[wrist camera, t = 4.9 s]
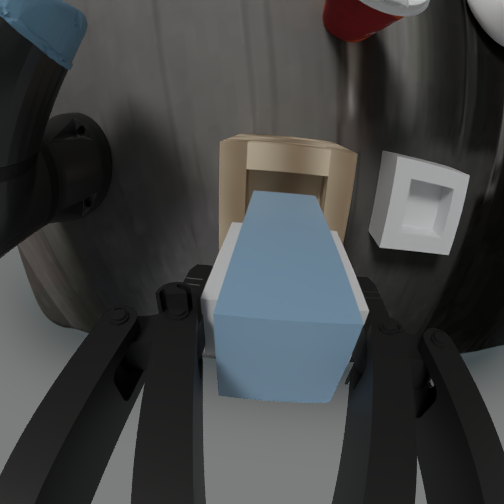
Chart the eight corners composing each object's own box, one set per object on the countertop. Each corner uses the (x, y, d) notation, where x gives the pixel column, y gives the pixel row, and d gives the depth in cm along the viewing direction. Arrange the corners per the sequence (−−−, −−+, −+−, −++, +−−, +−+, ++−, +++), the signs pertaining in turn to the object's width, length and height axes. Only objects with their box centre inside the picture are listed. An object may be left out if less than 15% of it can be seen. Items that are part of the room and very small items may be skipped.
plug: (250, 253, 20) (219, 403, 9) (253, 190, 18) (212, 313, 7) (306, 258, 20) (325, 410, 9) (315, 195, 17) (363, 324, 7)
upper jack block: (237, 218, 33) (219, 262, 23) (240, 133, 28) (220, 141, 19) (321, 225, 32) (336, 272, 23) (332, 141, 27) (357, 153, 18)
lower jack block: (368, 231, 32) (379, 247, 28) (382, 150, 27) (397, 156, 23) (433, 239, 31) (448, 255, 27) (450, 167, 26) (469, 175, 22)
